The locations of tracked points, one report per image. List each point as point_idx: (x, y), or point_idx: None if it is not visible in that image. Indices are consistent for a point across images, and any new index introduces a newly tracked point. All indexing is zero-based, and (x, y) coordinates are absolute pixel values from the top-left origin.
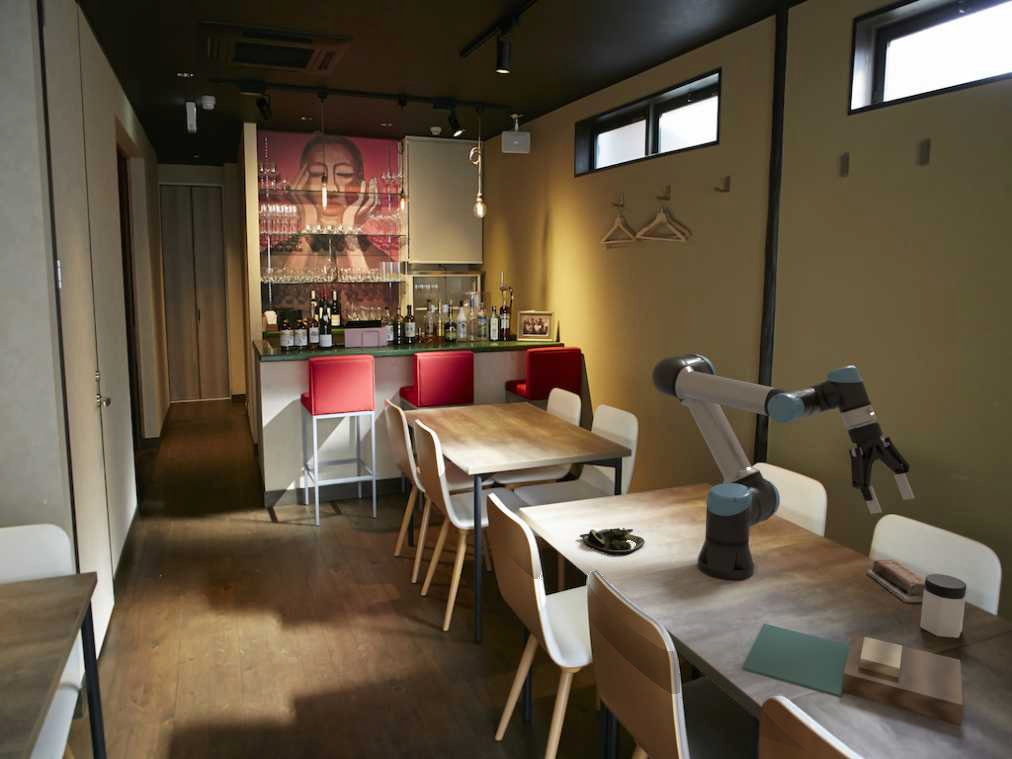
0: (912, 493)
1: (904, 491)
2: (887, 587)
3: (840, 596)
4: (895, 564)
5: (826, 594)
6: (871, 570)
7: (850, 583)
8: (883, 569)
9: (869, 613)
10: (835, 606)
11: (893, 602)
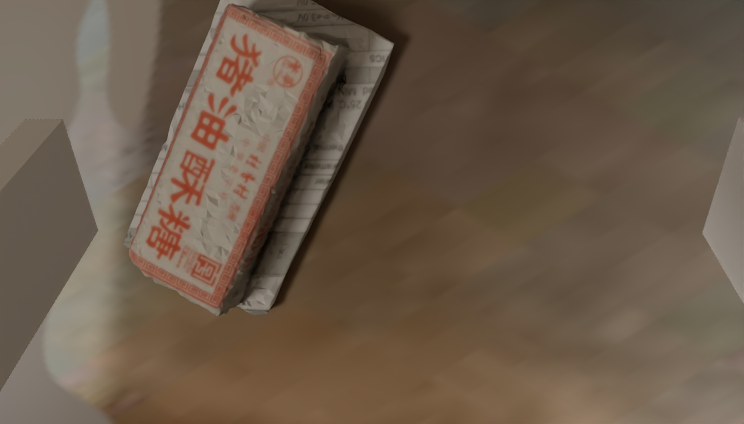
0: (4, 150)
1: (41, 244)
2: (339, 167)
3: (600, 232)
4: (181, 230)
5: (638, 278)
6: (248, 302)
7: (429, 288)
8: (257, 243)
9: (653, 58)
10: None
11: (443, 72)
